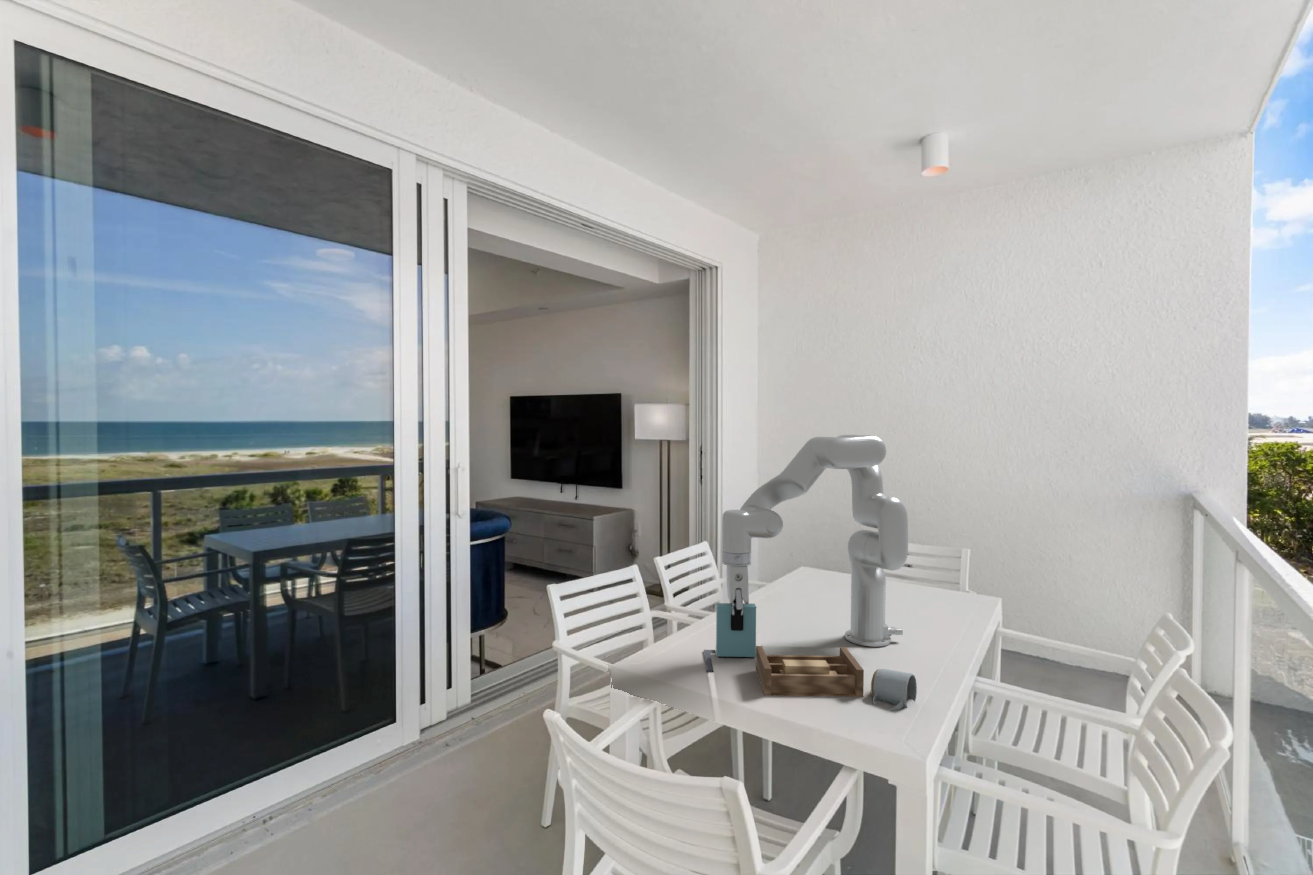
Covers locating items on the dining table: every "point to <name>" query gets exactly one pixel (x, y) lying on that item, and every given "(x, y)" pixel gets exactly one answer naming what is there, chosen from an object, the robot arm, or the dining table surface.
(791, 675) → the walnut rack
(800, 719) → the dining table surface
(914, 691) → the ceramic mug
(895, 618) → the dining table surface
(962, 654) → the dining table surface
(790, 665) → the oak offcuts
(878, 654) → the dining table surface
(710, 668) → the gray l-shaped bracket
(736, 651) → the teal rectangular block
